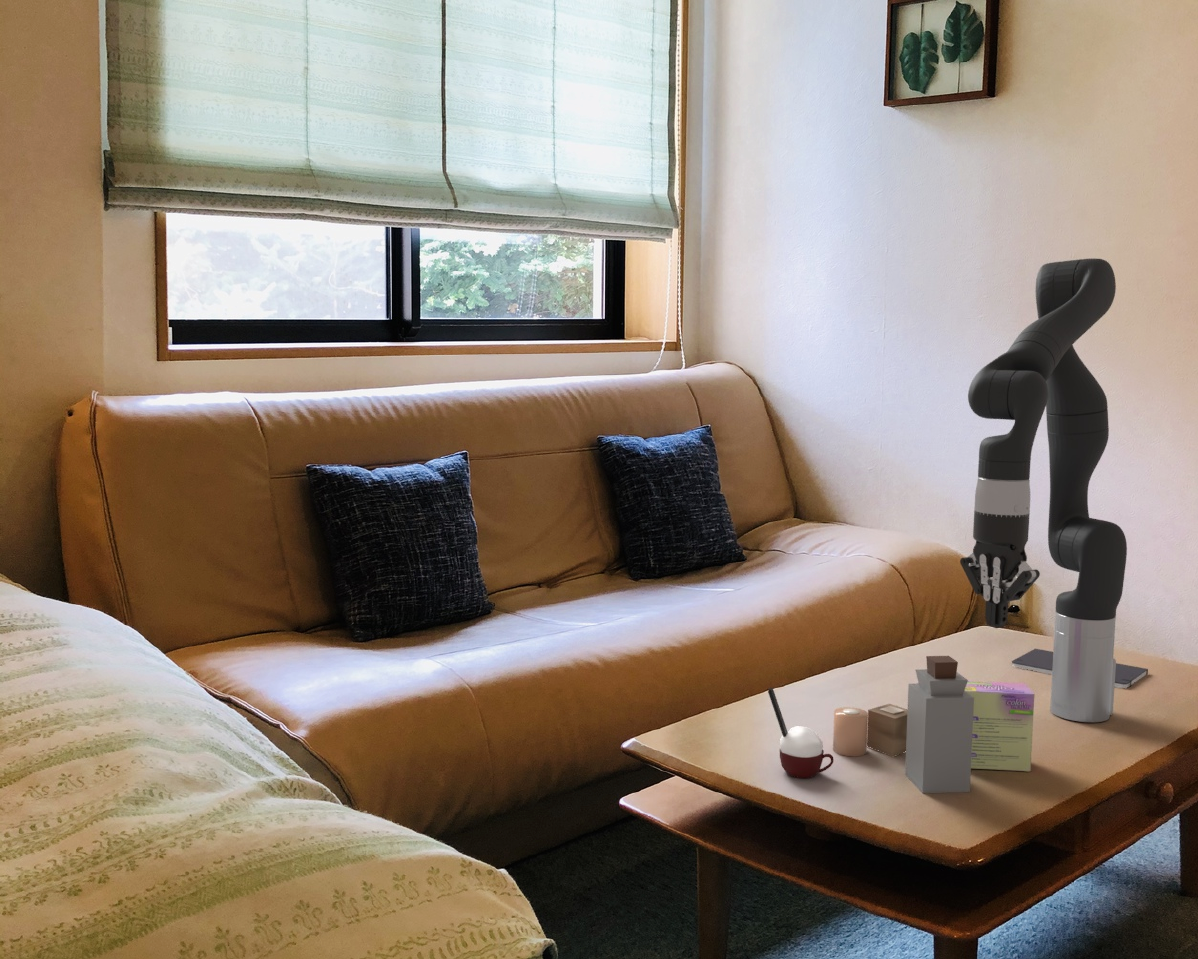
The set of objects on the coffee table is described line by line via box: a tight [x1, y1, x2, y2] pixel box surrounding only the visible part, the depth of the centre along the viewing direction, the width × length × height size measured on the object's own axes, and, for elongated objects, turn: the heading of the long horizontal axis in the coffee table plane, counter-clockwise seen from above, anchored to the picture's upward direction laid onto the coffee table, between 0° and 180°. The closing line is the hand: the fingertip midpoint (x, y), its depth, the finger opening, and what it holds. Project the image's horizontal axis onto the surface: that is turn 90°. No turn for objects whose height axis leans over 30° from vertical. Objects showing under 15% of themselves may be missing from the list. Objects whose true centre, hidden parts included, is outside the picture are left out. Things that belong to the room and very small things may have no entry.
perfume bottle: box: [904, 655, 974, 794], centre depth 156 cm, size 7×7×18 cm
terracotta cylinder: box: [832, 706, 868, 757], centre depth 170 cm, size 5×5×6 cm
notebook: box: [1011, 648, 1149, 689], centre depth 213 cm, size 13×2×21 cm
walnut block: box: [867, 703, 908, 757], centre depth 171 cm, size 5×5×6 cm
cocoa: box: [767, 686, 834, 779], centre depth 160 cm, size 10×6×12 cm, turn 48°
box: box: [965, 680, 1035, 773], centre depth 164 cm, size 10×6×12 cm, turn 84°
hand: (995, 626), depth 163 cm, fingers closed
